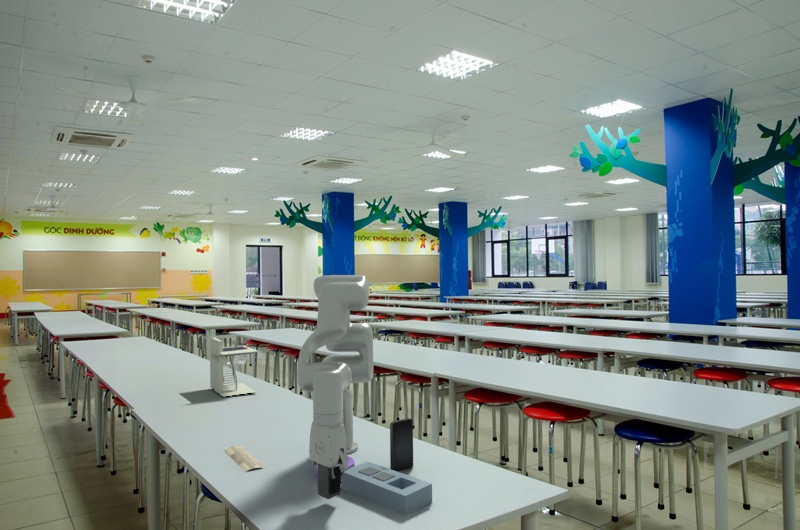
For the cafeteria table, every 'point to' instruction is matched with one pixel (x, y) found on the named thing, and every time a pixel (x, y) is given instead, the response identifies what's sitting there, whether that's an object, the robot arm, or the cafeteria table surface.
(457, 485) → the cafeteria table surface
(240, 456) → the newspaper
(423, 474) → the cafeteria table surface
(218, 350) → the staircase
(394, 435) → the phone
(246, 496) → the cafeteria table surface
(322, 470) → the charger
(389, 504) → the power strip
